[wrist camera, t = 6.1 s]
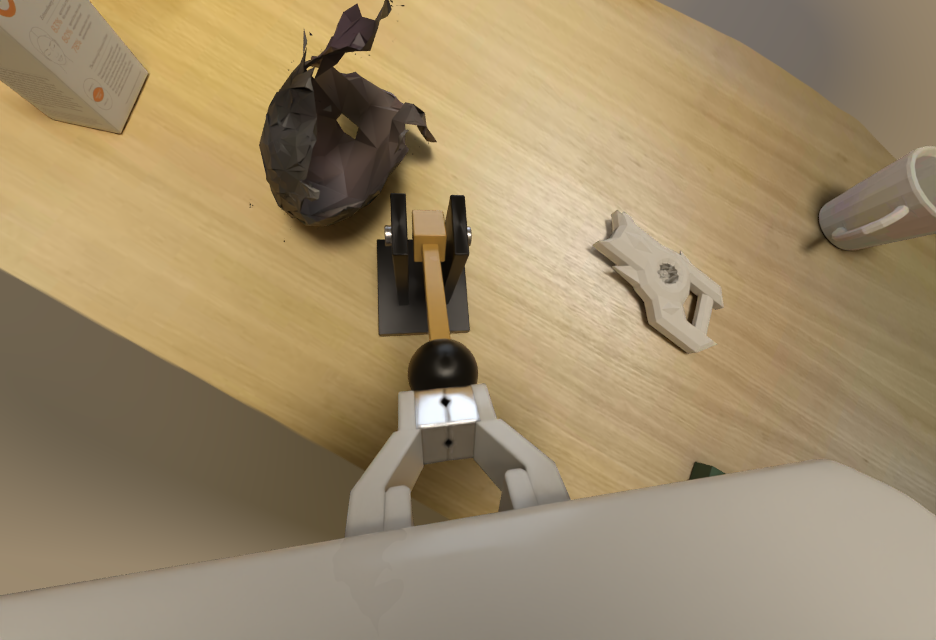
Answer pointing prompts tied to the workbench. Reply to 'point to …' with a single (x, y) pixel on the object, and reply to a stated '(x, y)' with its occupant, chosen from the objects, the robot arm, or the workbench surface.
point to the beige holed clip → (662, 283)
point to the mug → (885, 205)
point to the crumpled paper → (334, 131)
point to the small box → (68, 62)
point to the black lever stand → (421, 273)
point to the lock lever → (436, 314)
